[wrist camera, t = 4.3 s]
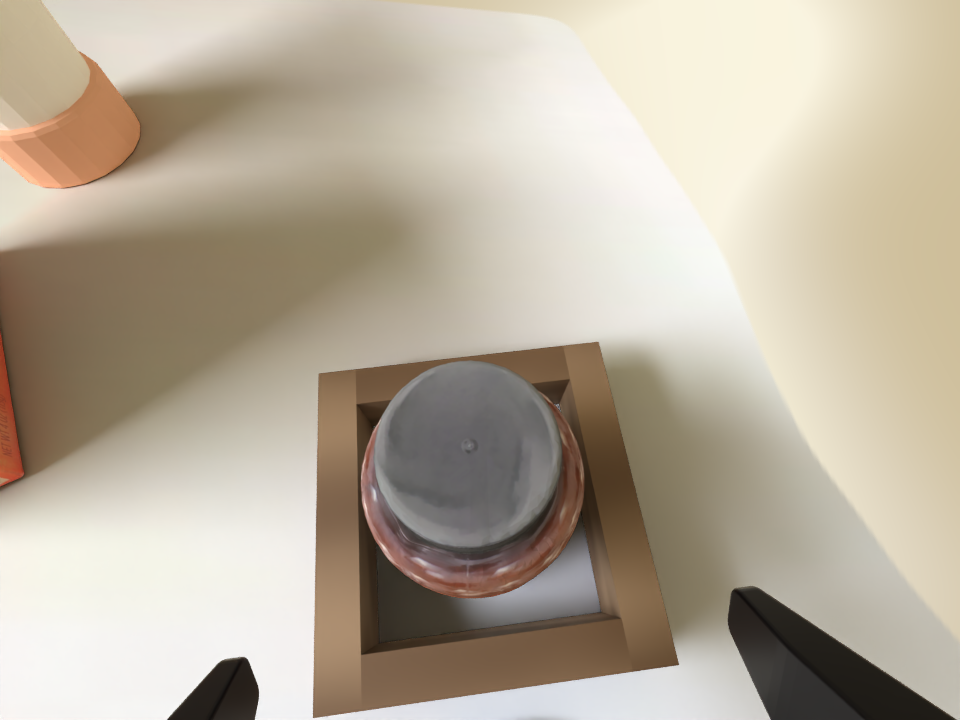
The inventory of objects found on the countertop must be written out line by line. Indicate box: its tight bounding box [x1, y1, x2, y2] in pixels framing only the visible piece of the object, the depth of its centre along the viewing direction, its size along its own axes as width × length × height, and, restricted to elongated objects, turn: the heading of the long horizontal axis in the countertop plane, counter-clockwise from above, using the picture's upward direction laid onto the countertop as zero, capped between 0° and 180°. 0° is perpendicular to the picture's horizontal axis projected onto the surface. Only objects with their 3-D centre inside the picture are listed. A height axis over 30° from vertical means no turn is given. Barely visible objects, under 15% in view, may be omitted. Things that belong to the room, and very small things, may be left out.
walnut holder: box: [313, 342, 679, 718], centre depth 19 cm, size 12×12×3 cm
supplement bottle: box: [361, 360, 584, 598], centre depth 15 cm, size 6×6×11 cm
